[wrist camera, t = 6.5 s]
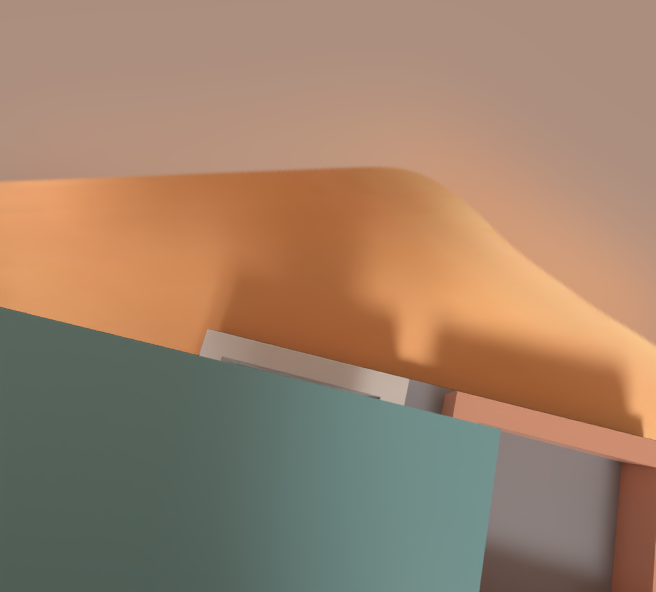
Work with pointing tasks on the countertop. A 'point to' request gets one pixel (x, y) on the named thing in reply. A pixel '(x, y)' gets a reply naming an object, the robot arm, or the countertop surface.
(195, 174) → the countertop surface
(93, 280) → the countertop surface
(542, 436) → the organiser
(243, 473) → the plug
